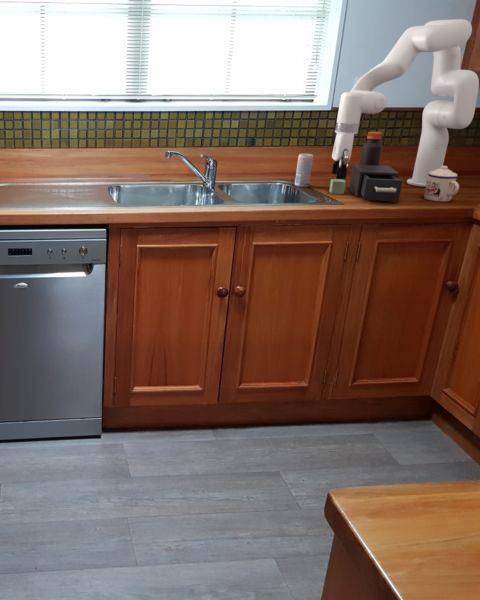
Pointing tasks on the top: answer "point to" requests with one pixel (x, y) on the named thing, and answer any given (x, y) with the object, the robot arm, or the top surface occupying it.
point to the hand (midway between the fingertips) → (338, 176)
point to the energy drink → (303, 170)
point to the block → (337, 186)
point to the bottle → (372, 149)
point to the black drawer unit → (380, 187)
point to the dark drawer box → (367, 169)
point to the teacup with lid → (441, 185)
